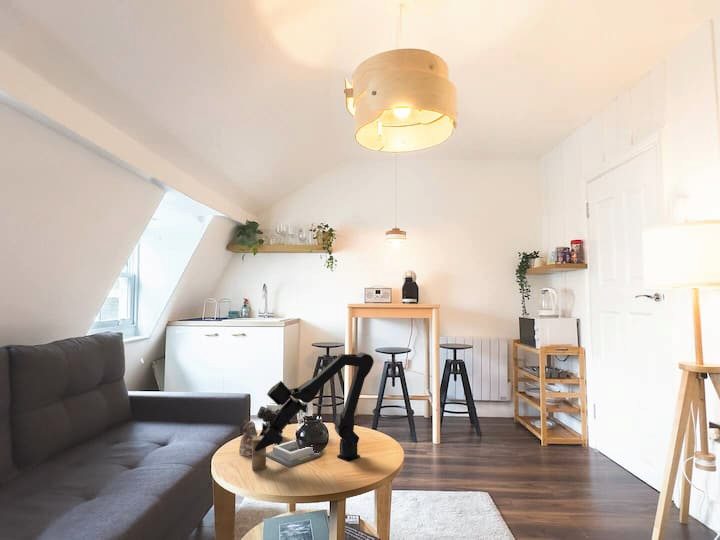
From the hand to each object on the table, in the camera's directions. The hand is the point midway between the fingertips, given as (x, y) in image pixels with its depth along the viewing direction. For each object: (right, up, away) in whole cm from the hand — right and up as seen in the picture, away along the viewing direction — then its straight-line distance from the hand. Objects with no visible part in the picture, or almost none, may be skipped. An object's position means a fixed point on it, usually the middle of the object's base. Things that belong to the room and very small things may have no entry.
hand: (255, 448), depth 144 cm
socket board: (+12, -8, +11) cm, 18 cm away
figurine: (-6, -8, +14) cm, 17 cm away
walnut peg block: (+1, -7, 0) cm, 7 cm away
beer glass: (+13, -10, +35) cm, 38 cm away
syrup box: (0, -10, +32) cm, 33 cm away
